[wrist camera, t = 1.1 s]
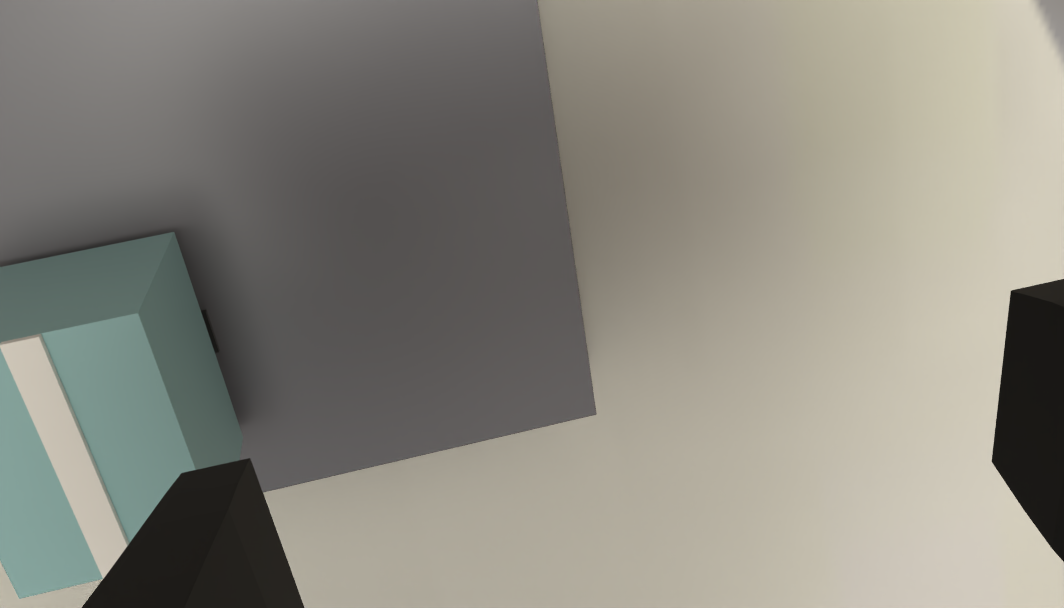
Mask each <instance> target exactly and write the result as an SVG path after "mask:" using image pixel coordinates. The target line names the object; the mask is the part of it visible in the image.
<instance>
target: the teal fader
mask: <svg viewBox="0 0 1064 608" xmlns="http://www.w3.org/2000/svg"><path fill="white" fill-rule="evenodd" d="M242 441H243V435H242V432H241V429H240V426H239V423H238V420H237V417H236V414H235V411H234V408H233V405H232V402H231V399H230V396H229V393H228V390H227V387H226V384H225V381H224V378H223V375H222V373H221V370H220V367H219V364H218V361H217V358H216V355H215V352H214V349H213V346H212V343H211V340H210V337H209V334H208V331H207V328H206V325H205V322H204V319H203V316H202V313H201V310H200V307H199V304H198V301H197V298H196V295H195V292H194V289H193V286H192V283H191V280H190V277H189V274H188V271H187V268H186V265H185V262H184V259H183V256H182V253H181V250H180V247H179V244H178V242H177V239H176V236H175V233H174V232H170V233H166V234H161V235H156V236H151V237H146V238H141V239H136V240H131V241H126V242H121V243H116V244H111V245H107V246H102V247H97V248H92V249H87V250H82V251H77V252H72V253H67V254H62V255H57V256H52V257H48V258H43V259H38V260H33V261H28V262H23V263H18V264H13V265H8V266H3V267H0V561H1V563H2V565H3V567H4V569H5V571H6V573H7V575H8V577H9V579H10V581H11V583H12V585H13V587H14V589H15V591H16V593H17V595H18V597H19V599H21V598H25V597H29V596H33V595H37V594H41V593H46V592H50V591H54V590H58V589H62V588H67V587H71V586H75V585H79V584H83V583H87V582H92V581H96V580H100V579H104V577H105V576H106V575H107V573H108V572H109V571H110V569H111V568H112V566H113V565H114V564H115V562H116V561H117V560H118V558H119V557H120V556H121V554H122V553H123V551H124V550H125V549H126V547H127V546H128V545H129V543H130V542H131V540H132V539H133V538H134V536H135V535H136V533H137V532H138V531H139V529H140V528H141V527H142V525H143V524H144V522H145V521H146V520H147V518H148V517H149V516H150V514H151V513H152V511H153V510H154V509H155V507H156V506H157V505H158V503H159V502H160V500H161V499H162V498H163V496H164V495H165V494H166V492H167V491H168V490H169V488H170V487H171V486H172V484H173V483H174V482H175V481H176V479H177V478H178V477H179V475H180V474H181V473H184V472H188V471H193V470H197V469H202V468H206V467H211V466H216V465H220V464H225V463H229V462H234V461H238V460H240V454H241V447H242Z"/></svg>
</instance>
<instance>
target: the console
mask: <svg viewBox="0 0 1064 608" xmlns="http://www.w3.org/2000/svg"><path fill="white" fill-rule="evenodd" d="M170 232H174V233H175V236H176V239H177V242H178V244H179V247H180V250H181V253H182V256H183V259H184V262H185V265H186V268H187V271H188V274H189V277H190V280H191V283H192V286H193V289H194V292H195V295H196V298H197V301H198V304H199V307H200V310H201V313H202V316H203V319H204V322H205V325H206V328H207V331H208V334H209V337H210V340H211V343H212V346H213V349H214V352H215V355H216V358H217V361H218V364H219V367H220V370H221V373H222V375H223V378H224V381H225V384H226V387H227V390H228V393H229V396H230V399H231V402H232V405H233V408H234V411H235V414H236V417H237V420H238V423H239V426H240V429H241V432H242V435H243V441H242V447H241V454H240V460H243V459H247V458H250V459H251V461H252V464H253V467H254V470H255V472H256V475H257V478H258V481H259V484H260V486H261V489H262V492H267V491H271V490H275V489H280V488H284V487H288V486H292V485H297V484H301V483H305V482H309V481H314V480H318V479H322V478H327V477H331V476H335V475H339V474H344V473H348V472H352V471H357V470H361V469H365V468H369V467H374V466H378V465H382V464H386V463H391V462H395V461H399V460H404V459H408V458H412V457H416V456H421V455H425V454H429V453H434V452H438V451H442V450H446V449H451V448H455V447H459V446H463V445H468V444H472V443H476V442H481V441H485V440H489V439H493V438H498V437H502V436H506V435H510V434H515V433H519V432H523V431H528V430H532V429H536V428H540V427H545V426H549V425H553V424H558V423H562V422H566V421H570V420H575V419H579V418H583V417H587V416H592V415H596V408H595V401H594V394H593V387H592V380H591V373H590V366H589V359H588V352H587V345H586V338H585V331H584V324H583V317H582V310H581V303H580V296H579V289H578V282H577V275H576V268H575V261H574V254H573V247H572V240H571V233H570V226H569V219H568V212H567V205H566V198H565V191H564V184H563V177H562V170H561V163H560V156H559V149H558V142H557V135H556V128H555V121H554V114H553V107H552V100H551V93H550V86H549V79H548V72H547V65H546V58H545V51H544V44H543V37H542V30H541V23H540V16H539V9H538V2H537V0H0V267H3V266H8V265H13V264H18V263H23V262H28V261H33V260H38V259H43V258H48V257H52V256H57V255H62V254H67V253H72V252H77V251H82V250H87V249H92V248H97V247H102V246H107V245H111V244H116V243H121V242H126V241H131V240H136V239H141V238H146V237H151V236H156V235H161V234H166V233H170Z"/></svg>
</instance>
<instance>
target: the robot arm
mask: <svg viewBox="0 0 1064 608" xmlns="http://www.w3.org/2000/svg"><path fill="white" fill-rule="evenodd" d="M992 463H993V464H994V466H995V467H996V469H997V470H998V472H999V473H1000V475H1001V476H1002V478H1003V479H1004V481H1005V482H1006V484H1007V485H1008V487H1009V488H1010V490H1011V491H1012V493H1013V494H1014V496H1015V497H1016V499H1017V500H1018V502H1019V503H1020V505H1021V506H1022V508H1023V509H1024V511H1025V512H1026V513H1027V515H1028V516H1029V517H1030V519H1031V520H1032V522H1033V523H1034V524H1035V526H1036V527H1037V528H1038V530H1039V531H1040V533H1041V534H1042V535H1043V537H1044V538H1045V539H1046V541H1047V542H1048V544H1049V545H1050V546H1051V548H1052V549H1053V550H1054V551H1055V552H1056V553H1057V555H1058V556H1059V557H1060V558H1061V559H1062V560H1063V561H1064V279H1062V280H1057V281H1053V282H1048V283H1044V284H1039V285H1034V286H1030V287H1025V288H1021V289H1016V290H1012V291H1011V295H1010V304H1009V313H1008V321H1007V330H1006V339H1005V348H1004V357H1003V366H1002V375H1001V384H1000V393H999V402H998V410H997V419H996V428H995V437H994V446H993V455H992ZM82 608H304V605H303V603H302V600H301V597H300V594H299V592H298V589H297V586H296V583H295V580H294V578H293V575H292V572H291V569H290V567H289V564H288V561H287V558H286V556H285V553H284V550H283V547H282V544H281V542H280V539H279V536H278V533H277V531H276V528H275V525H274V522H273V520H272V517H271V514H270V511H269V508H268V506H267V503H266V500H265V497H264V495H263V492H262V489H261V486H260V484H259V481H258V478H257V475H256V472H255V470H254V467H253V464H252V461H251V459H250V458H247V459H243V460H238V461H234V462H229V463H225V464H220V465H216V466H211V467H206V468H202V469H197V470H193V471H188V472H184V473H181V474H180V475H179V477H178V478H177V479H176V481H175V482H174V483H173V484H172V486H171V487H170V488H169V490H168V491H167V492H166V494H165V495H164V496H163V498H162V499H161V500H160V502H159V503H158V505H157V506H156V507H155V509H154V510H153V511H152V513H151V514H150V516H149V517H148V518H147V520H146V521H145V522H144V524H143V525H142V527H141V528H140V529H139V531H138V532H137V533H136V535H135V536H134V538H133V539H132V540H131V542H130V543H129V545H128V546H127V547H126V549H125V550H124V551H123V553H122V554H121V556H120V557H119V558H118V560H117V561H116V562H115V564H114V565H113V566H112V568H111V569H110V571H109V572H108V573H107V575H106V576H105V577H104V579H103V580H102V581H101V583H100V584H99V585H98V587H97V588H96V589H95V591H94V592H93V593H92V595H91V596H90V597H89V599H88V600H87V601H86V603H85V604H84V605H83V607H82Z"/></svg>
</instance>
